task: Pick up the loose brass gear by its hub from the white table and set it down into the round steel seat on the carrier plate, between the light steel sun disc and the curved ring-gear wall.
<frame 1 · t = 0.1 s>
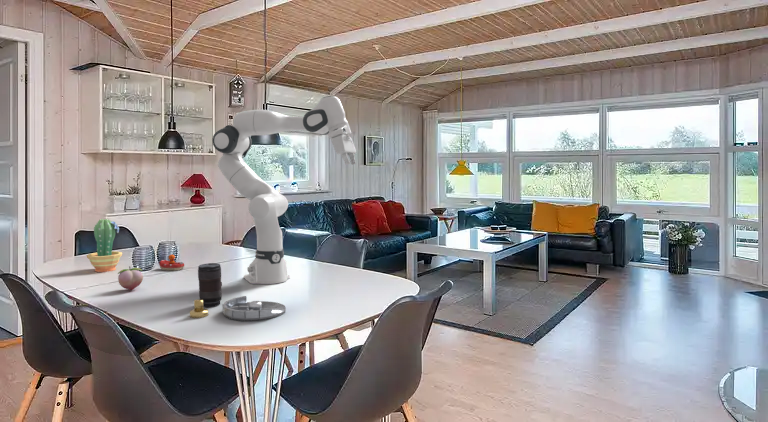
hand: (351, 164, 216), 52 cm above the table, tool tilted 20°, fingers open, 8 cm apart
toy boat: (171, 270, 252), on the table
carrier: (255, 312, 180), on the table
planet gear: (199, 315, 176), on the table
decorative fruit: (130, 290, 211), on the table
camera lens: (210, 305, 189), on the table
potted cactus: (105, 270, 250), on the table
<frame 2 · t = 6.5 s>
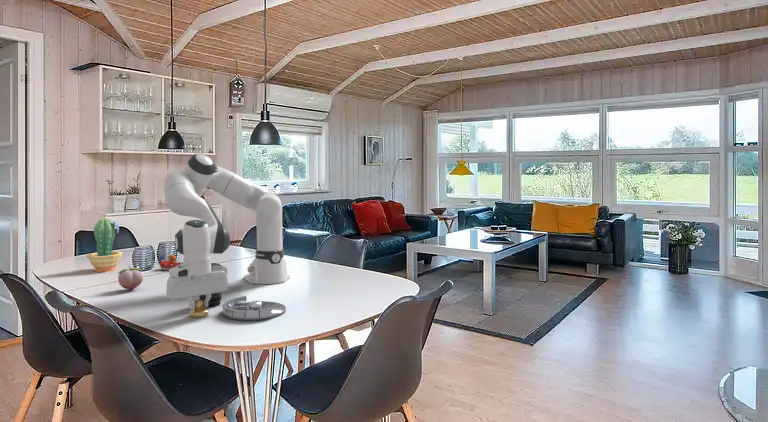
hand: (198, 307, 175), 3 cm above the table, tool pointing down, fingers closed on planet gear, 3 cm apart
planet gear: (199, 315, 176), on the table, touching gripper
everything else where it was.
when the fingers open (5 cm above the table, at t = 11.1 s): planet gear drops 1 cm, resting on carrier.
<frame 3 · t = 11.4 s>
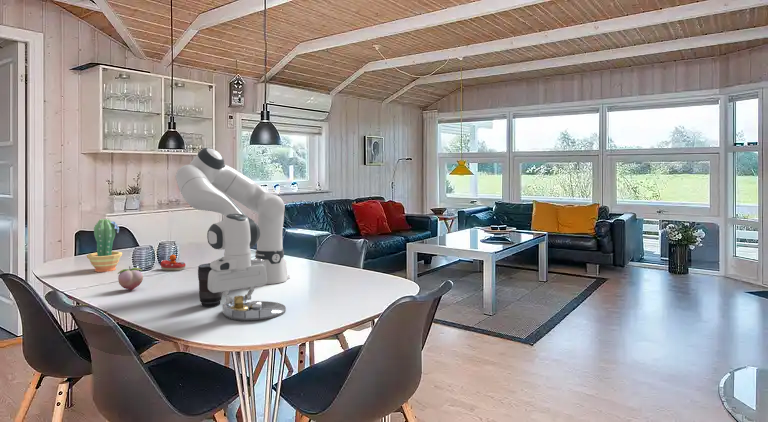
hand: (238, 301, 176), 5 cm above the table, tool pointing down, fingers open, 5 cm apart
planet gear: (239, 312, 176), point 1 cm above the table, touching carrier
everything else where it was.
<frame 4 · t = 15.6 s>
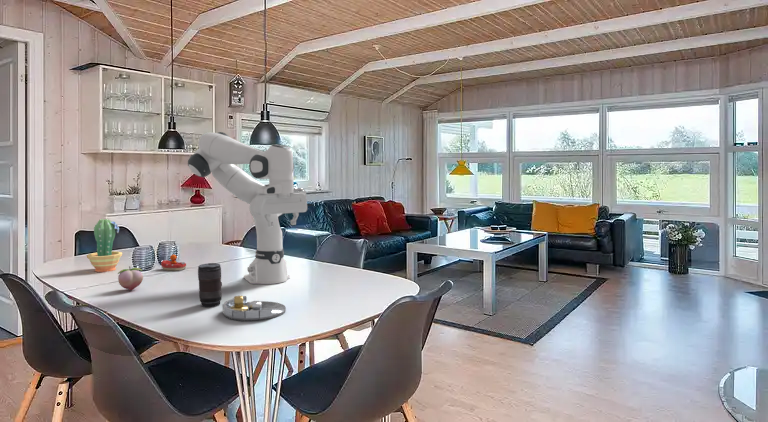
hand: (282, 225, 191), 29 cm above the table, tool pointing down, fingers open, 8 cm apart
nothing on the table moved.
at the end: planet gear 0.0 cm from the target spot on the carrier, point 1.0 cm above the carrier's base; planet gear tilted 0°; the gripper is holding nothing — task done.
